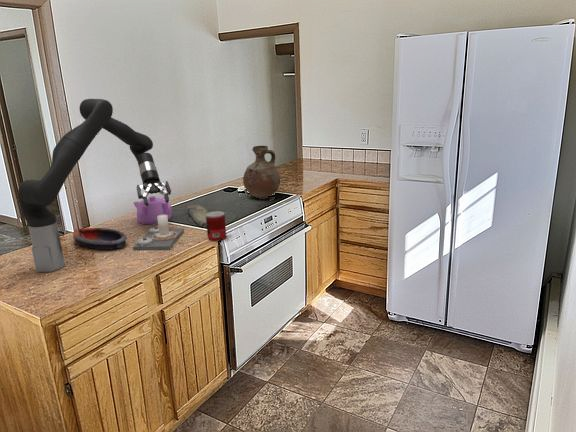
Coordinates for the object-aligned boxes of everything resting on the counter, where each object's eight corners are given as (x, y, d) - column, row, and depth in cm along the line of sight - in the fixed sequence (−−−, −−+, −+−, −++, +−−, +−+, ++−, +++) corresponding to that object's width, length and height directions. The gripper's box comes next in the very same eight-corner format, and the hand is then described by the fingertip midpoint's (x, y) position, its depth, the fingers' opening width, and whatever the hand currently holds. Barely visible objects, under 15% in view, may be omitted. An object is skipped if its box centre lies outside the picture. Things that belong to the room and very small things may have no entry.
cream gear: (171, 239, 185) (168, 218, 182) (152, 240, 185) (150, 218, 182) (176, 233, 192) (173, 213, 189) (158, 234, 192) (156, 213, 190)
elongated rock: (197, 232, 203) (218, 230, 207) (196, 221, 202) (218, 219, 205) (184, 210, 234) (202, 208, 238) (183, 200, 232) (202, 199, 236)
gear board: (169, 249, 178) (168, 241, 177) (133, 250, 178) (132, 242, 177) (184, 231, 200) (183, 224, 199) (151, 232, 200) (150, 224, 199)
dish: (105, 256, 174) (103, 244, 172) (63, 242, 190) (61, 232, 189) (137, 244, 186) (136, 233, 184) (96, 232, 203) (94, 222, 201)
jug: (237, 197, 259) (234, 146, 250) (265, 191, 272) (263, 143, 263) (259, 203, 243) (256, 150, 234) (288, 197, 256) (286, 145, 248)
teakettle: (140, 227, 208) (137, 202, 204) (134, 218, 222) (131, 195, 219) (176, 222, 215) (173, 197, 211) (168, 213, 230) (165, 191, 226)
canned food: (229, 237, 190) (228, 213, 187) (215, 242, 185) (213, 217, 182) (218, 233, 195) (217, 210, 192) (204, 238, 190) (202, 214, 187)
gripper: (133, 170, 192) (141, 201, 186) (165, 167, 198) (174, 196, 192) (132, 180, 198) (140, 210, 192) (164, 176, 204) (172, 205, 198)
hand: (157, 203), depth 192 cm, fingers open, 8 cm apart
